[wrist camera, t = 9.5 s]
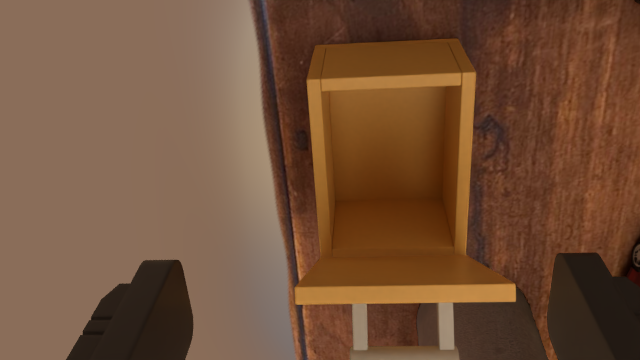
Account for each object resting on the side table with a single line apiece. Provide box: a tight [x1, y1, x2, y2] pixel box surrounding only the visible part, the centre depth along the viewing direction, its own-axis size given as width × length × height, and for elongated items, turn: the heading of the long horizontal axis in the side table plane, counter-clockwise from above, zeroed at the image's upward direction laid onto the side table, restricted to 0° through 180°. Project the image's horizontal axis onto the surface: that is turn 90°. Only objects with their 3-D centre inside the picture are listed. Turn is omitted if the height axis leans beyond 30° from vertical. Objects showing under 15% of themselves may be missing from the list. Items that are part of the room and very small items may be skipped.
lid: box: [295, 255, 516, 360], centre depth 33 cm, size 13×10×5 cm
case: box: [307, 38, 476, 258], centre depth 40 cm, size 13×10×7 cm
